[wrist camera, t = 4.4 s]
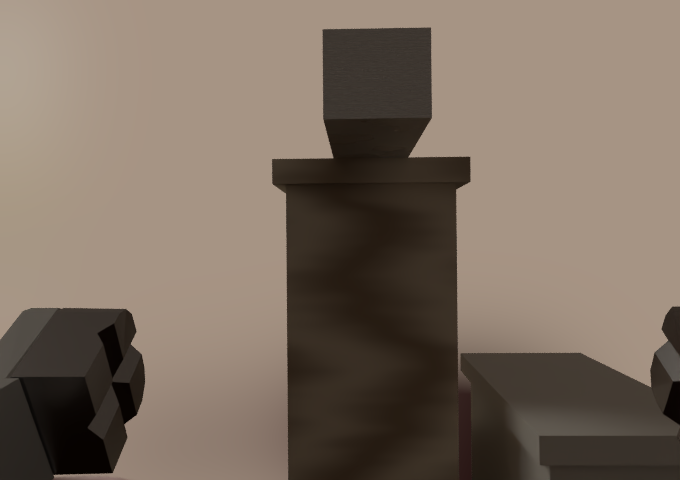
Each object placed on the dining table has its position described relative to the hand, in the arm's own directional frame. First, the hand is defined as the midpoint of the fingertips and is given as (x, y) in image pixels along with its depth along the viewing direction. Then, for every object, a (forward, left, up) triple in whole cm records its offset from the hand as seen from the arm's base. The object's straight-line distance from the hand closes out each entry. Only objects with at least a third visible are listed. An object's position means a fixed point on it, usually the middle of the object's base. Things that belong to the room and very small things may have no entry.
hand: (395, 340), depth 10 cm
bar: (0, +19, +5) cm, 19 cm away
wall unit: (0, +24, -21) cm, 32 cm away
